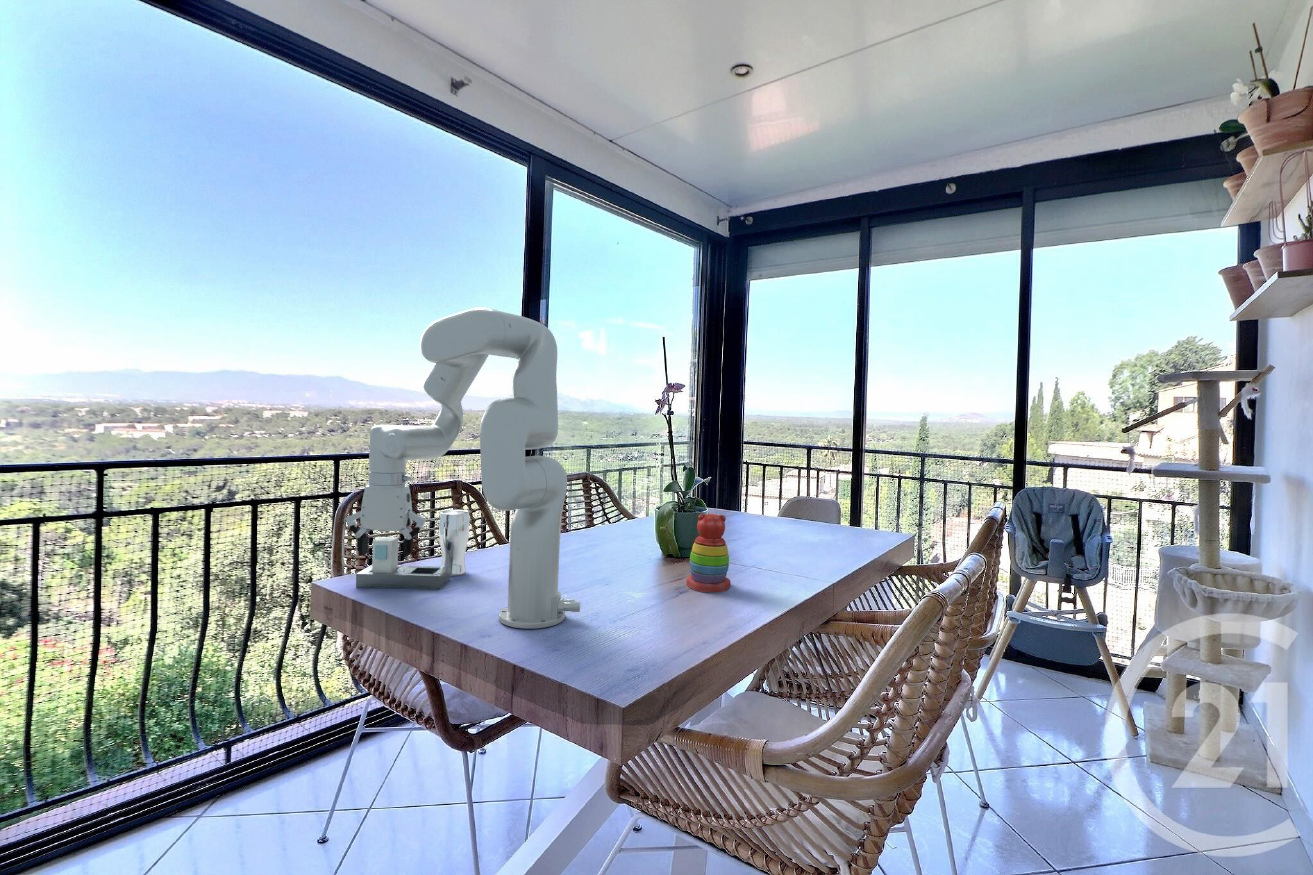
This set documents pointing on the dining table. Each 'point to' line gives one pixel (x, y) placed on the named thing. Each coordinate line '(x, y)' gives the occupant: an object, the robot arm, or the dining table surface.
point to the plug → (385, 555)
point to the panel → (405, 578)
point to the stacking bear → (709, 556)
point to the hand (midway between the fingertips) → (385, 555)
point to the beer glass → (454, 540)
